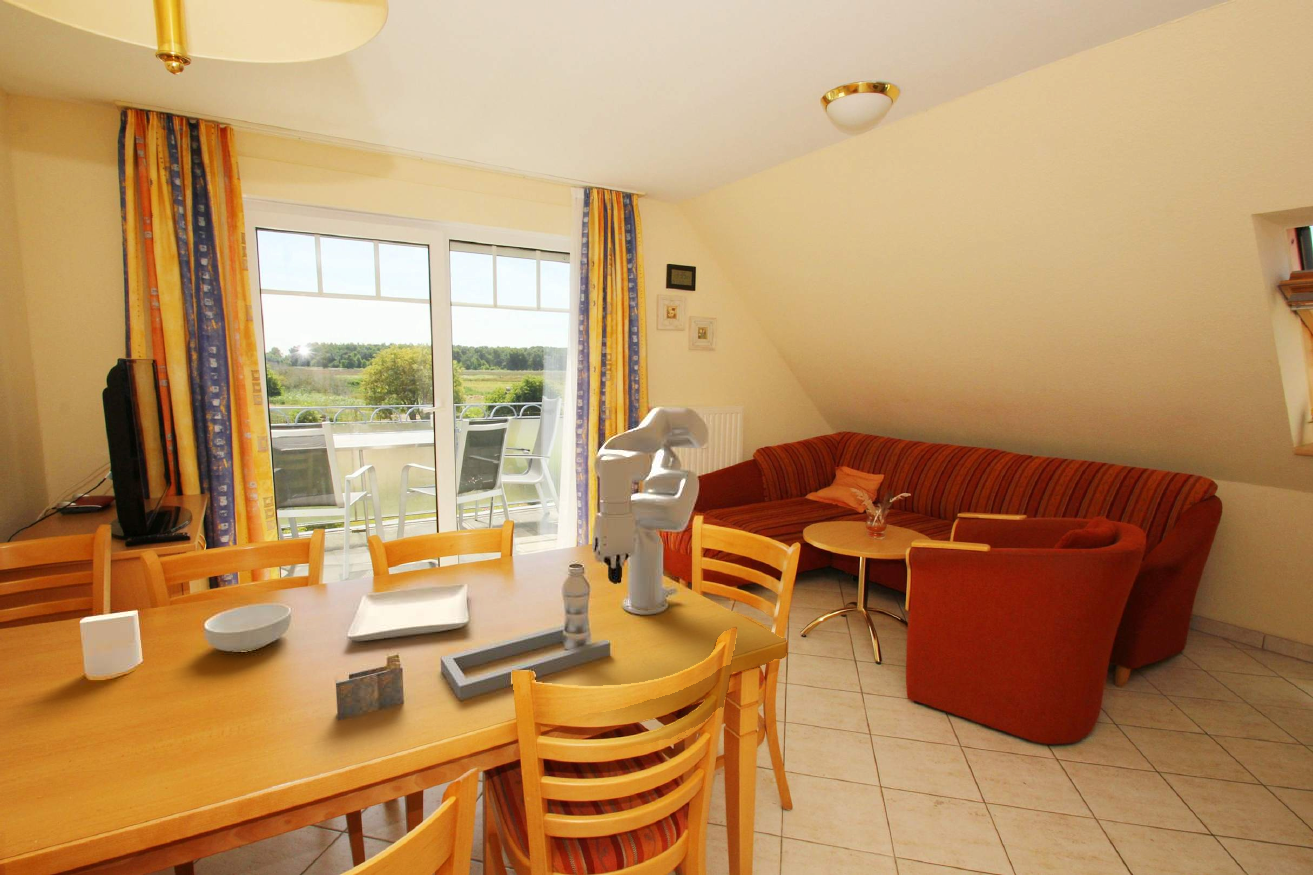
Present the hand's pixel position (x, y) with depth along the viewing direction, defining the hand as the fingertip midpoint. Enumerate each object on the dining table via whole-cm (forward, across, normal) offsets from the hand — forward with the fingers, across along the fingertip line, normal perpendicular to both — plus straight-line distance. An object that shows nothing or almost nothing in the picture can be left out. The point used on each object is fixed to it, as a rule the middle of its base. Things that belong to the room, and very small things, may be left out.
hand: (615, 581), depth 142 cm
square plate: (+15, +38, -38) cm, 56 cm away
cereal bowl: (+15, +73, -43) cm, 86 cm away
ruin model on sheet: (+15, +54, 0) cm, 56 cm away
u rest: (+14, +21, 0) cm, 26 cm away
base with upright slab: (+15, +97, -46) cm, 108 cm away
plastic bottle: (+14, +10, 0) cm, 18 cm away
